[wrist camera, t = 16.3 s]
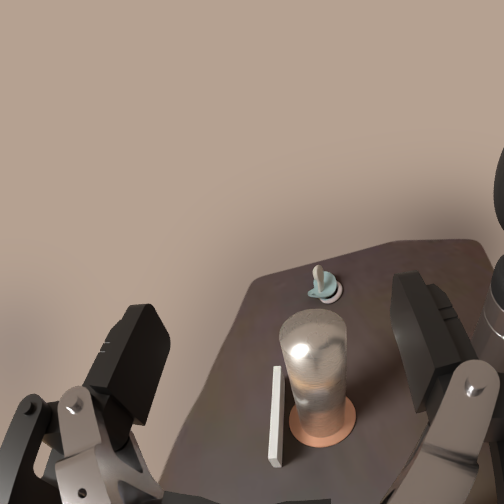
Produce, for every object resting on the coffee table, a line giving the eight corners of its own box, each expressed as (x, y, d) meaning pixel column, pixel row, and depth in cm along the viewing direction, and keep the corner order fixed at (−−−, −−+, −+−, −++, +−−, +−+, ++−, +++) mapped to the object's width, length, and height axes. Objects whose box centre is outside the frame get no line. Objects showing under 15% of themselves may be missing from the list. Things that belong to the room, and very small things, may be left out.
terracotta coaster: (338, 381, 40) (338, 380, 40) (366, 429, 32) (367, 428, 32) (280, 405, 39) (280, 404, 39) (302, 457, 31) (302, 457, 31)
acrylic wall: (278, 381, 43) (273, 366, 40) (284, 380, 42) (280, 365, 40) (273, 467, 31) (268, 458, 29) (281, 467, 31) (276, 458, 29)
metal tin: (333, 393, 38) (328, 300, 29) (352, 426, 33) (358, 341, 24) (293, 409, 37) (270, 322, 28) (309, 444, 32) (292, 369, 23)
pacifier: (345, 283, 58) (317, 279, 61) (345, 257, 55) (315, 254, 58) (336, 309, 53) (305, 304, 56) (336, 282, 50) (302, 278, 52)
